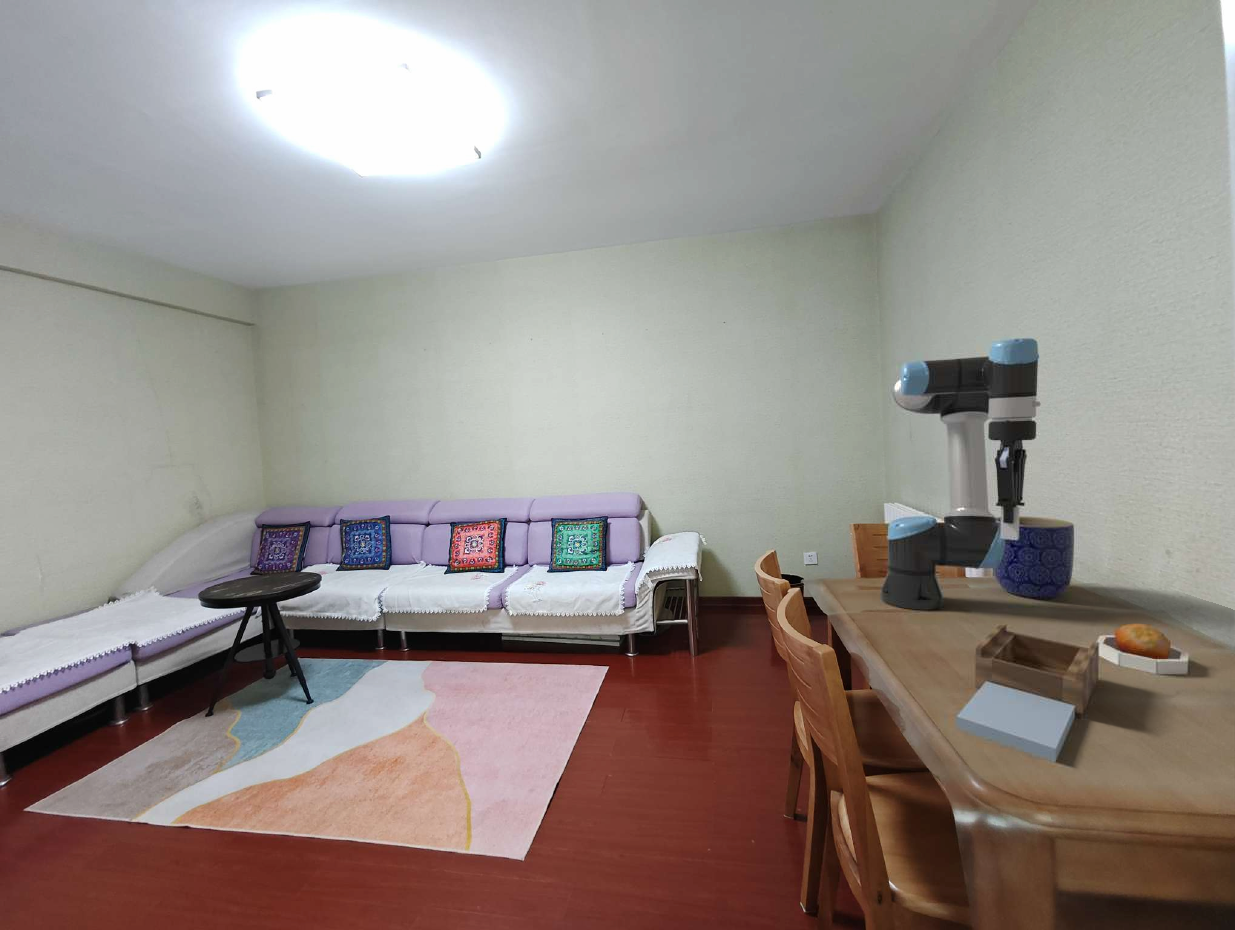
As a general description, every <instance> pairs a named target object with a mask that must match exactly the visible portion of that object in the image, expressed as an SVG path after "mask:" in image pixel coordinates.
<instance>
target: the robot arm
mask: <svg viewBox="0 0 1235 930" xmlns="http://www.w3.org/2000/svg"><path fill="white" fill-rule="evenodd" d="M1038 349H1039V347H1038V342H1037V340H1036V339H1034V338H1030V337H1029V338H1027V337H1025V338H1012V339H1010V338H1009V339H1004V340H998V341H995V342H993V343H992V344H991V345H990V349H989V355H987V356H976V357H974V356H973V357H964V358H963V357H962V358H961V357H960V358H950V359H936V360H935V359H934V360H915V361H911V362H905V363H903V364H902V366H901V368H900V369H901V370H900V379H899V380H898V381H897V382H896V384H895V385H894V388H893V392H892V393H893V399H894V402H895V403H896V404H897V406H899V407H900V408H902V409H904V410H906V411H909V412H912V413H916V414H920V415H921V414H923V415H940V417H939V419H940V422H941V423H943V425H946V427H947V428H946V430H947V432H946V433H947V456H948V460H947V461H948V484H949V486H948V487H949V489H948V490H949V511H948V512H947V513H946V514H945V515H944V516H943V521H944V522H938V521H937V519H936V518H935V517H934V516H929V515H928V516H926V515H925V516H923V515H917V516H905V517H904V516H903V517H900V518H896V519H893V520H892V521H890V523H889V524H888V527H887V528H888V529H887V536H886V539H887V541H888V542H887V573H886V575H885V579H884V582H883V583H882V586H881V589H880V598H881V600H882V601H883V602H885V603H886V604H888V605H891V606H895V607H899V608H904V609H909V610H922V611H924V610H925V611H927V610H936V609H937V610H938V609H941V608H942V607H943V606H944V595H943V593H942V589H941V587H940V584H939V580H938V579H937V575H936V574H937V573H936V572H937V571H936V569H937V567H952V568H953V567H954V568H965V569H966V568H968V569H975V570H976V569H977V570H979V569H993V568H995V567H997V566H998V565H999V564H1000V562H1001V560H1002V557H1003V553H1004V548H1005V539H1011V540H1018V539H1019V516H1020V507H1025V502H1022V501H1023V500H1024V498H1023V494H1024V482H1025V481H1024V480H1025V469H1026V461H1027V458H1028V457H1027V456H1028V455H1027V449H1025V448H1024V446H1023V444H1024V443H1023V441H1032V440H1033V441H1034V440H1035V439H1036V438H1037V422H1036V421H1035V420H1033V418H1036V417H1037V407H1040V406H1041V402H1040V401H1037V400H1038V399H1037V395H1038V393H1037V392H1038V368H1039V367H1038V363H1039V362H1038V361H1039V359H1040V354H1039V350H1038ZM989 419H990V420H991V421H989V423H988V433H987V435H988V440H990V441H1000V444H999V449H997V451H996V456H995V458H994V464H995V468H996V483H997V502H996V503H995V505H996V507H1000V517H1001V525H1000V524H996V518H997V517H996V515H994V514H993V513H991V512H990V511H989V494H988V481H987V480H988V477H987V476H988V474H987V458H986V457H987V455H986V440H985V439H986V438H985V437H986V436H985V435H986V434H985V423H986V422H987V421H988V420H989Z"/></svg>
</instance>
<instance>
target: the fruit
mask: <svg viewBox="0 0 1235 930" xmlns="http://www.w3.org/2000/svg"><path fill="white" fill-rule="evenodd" d="M1114 635H1115V639H1116V643H1117V647H1118V649H1117V650H1118V651H1121V652H1123V653H1128V654H1132V655H1137V656H1142V657H1147V658H1152V659H1168V658H1169V654H1170V646H1172V644H1171V640H1169V639H1168V637H1166V636H1165V634H1164V633H1163V632H1161V631H1159V630H1158V629H1155V628H1153V627H1151V626H1149V625H1147V624H1145V623H1129V624H1125V625H1122V626H1120V627H1119V628H1118V629H1116V630H1115V632H1114Z"/></svg>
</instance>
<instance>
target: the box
mask: <svg viewBox="0 0 1235 930" xmlns="http://www.w3.org/2000/svg"><path fill="white" fill-rule="evenodd" d="M1099 657H1100V656H1099V643H1098V642H1097V641H1092V643H1091V645H1090V647H1089V648H1088V647H1083V646H1080V645H1075V644H1070V643H1066V642H1061V641H1056V640H1051V639H1046V638H1042V637H1037V636H1032V635H1027V634H1023V633H1019V632H1013V631H1010V630H1009V631H1008V630H1007V623H1005V622H1000V624H999V625H998V626H996V628H995V629H994V630H993V631H992V632H990V634H988V636H986V637H985V638H984V639H983V640H982V641H981V642H980V643H979V644H978V645H977V646H976V647H975V669H974V670H975V672H974V673H975V674H974V675H975V676H974V677H975V680H974V681H975V683H974V685H975V688H976V689H978V690H979V689H980V688H981V687H982V686H983V684H984V683H985V682H986V681H987V682H990V683H994V684H998V685H1001V686H1005V687H1009V688H1012V689H1016V690H1020V691H1023V692H1027V693H1030V694H1034V695H1038V696H1041V697H1045V698H1049V699H1052V700H1056V701H1060V702H1063V703H1067V704H1071V705H1074V706H1075V718H1080V719H1083V716H1084V715H1085V712H1086V710H1087V707H1088V705H1089V703H1090V701H1091V699H1092V697H1093V694H1094V692H1095V689H1096V688H1097V685H1098V683H1099V662H1100V661H1099V659H1100V658H1099Z"/></svg>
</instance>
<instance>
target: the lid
mask: <svg viewBox="0 0 1235 930" xmlns="http://www.w3.org/2000/svg"><path fill="white" fill-rule="evenodd" d="M1075 718H1076V717H1075V706H1074V705H1071V704H1067V703H1063V702H1060V701H1056V700H1052V699H1049V698H1045V697H1041V696H1038V695H1034V694H1030V693H1027V692H1023V691H1020V690H1016V689H1012V688H1009V687H1005V686H1001V685H998V684H994V683H990V682H987V681H986V682H985V683H984V684H983V686H982V687H981V688H980V689H979V688H978V690H977V692H975V694H974V695H973V696H972V697H971V699H970V700H969V701H968V702H967V703H966V704H965V706H963V708H962V709H961V711H960V712H959V713H958V714H957V715H956V730H960V731H961V732H962V731H963V732H966V733H969V734H972V735H974V736H977V737H980V738H983V739H987V740H988V741H991V742H994V743H998V744H1001V745H1004V746H1007V747H1010V748H1012V749H1014V750H1015V749H1016V750H1019V751H1021V752H1024V753H1027V754H1030V755H1033V756H1035V757H1038V758H1041V759H1043V760H1044V759H1045V760H1048V761H1051V762H1053V763H1056V762H1057V760H1058V757H1059V754H1060V753H1061V750H1062V748H1063V745H1064V743H1065V741H1066V739H1067V736H1068V734H1069V732H1070V729H1071V727H1072V725H1073V723H1074V720H1075Z"/></svg>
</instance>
